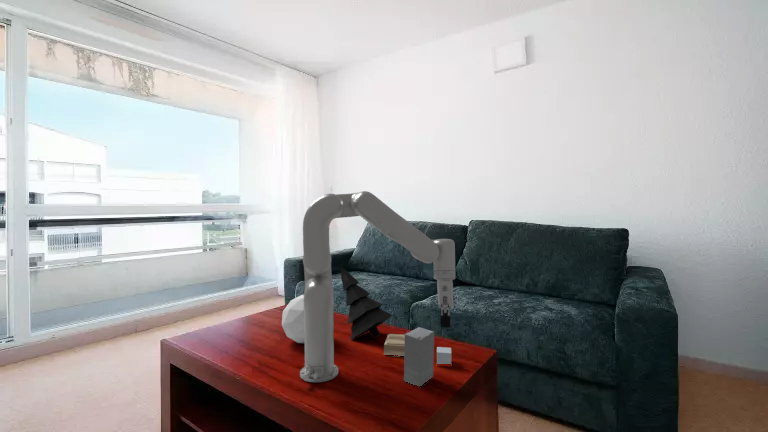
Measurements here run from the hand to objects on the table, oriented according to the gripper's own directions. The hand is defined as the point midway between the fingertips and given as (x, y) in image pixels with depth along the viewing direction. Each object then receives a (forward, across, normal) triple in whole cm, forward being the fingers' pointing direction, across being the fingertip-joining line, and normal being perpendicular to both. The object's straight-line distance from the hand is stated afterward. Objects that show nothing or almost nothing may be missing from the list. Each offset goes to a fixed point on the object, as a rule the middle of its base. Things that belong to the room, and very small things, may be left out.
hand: (445, 322), depth 128 cm
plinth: (+14, +10, +17) cm, 24 cm away
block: (+15, 0, +1) cm, 15 cm away
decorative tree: (+14, +24, +36) cm, 45 cm away
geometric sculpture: (+14, +14, +57) cm, 60 cm away
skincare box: (+15, -14, +9) cm, 22 cm away
